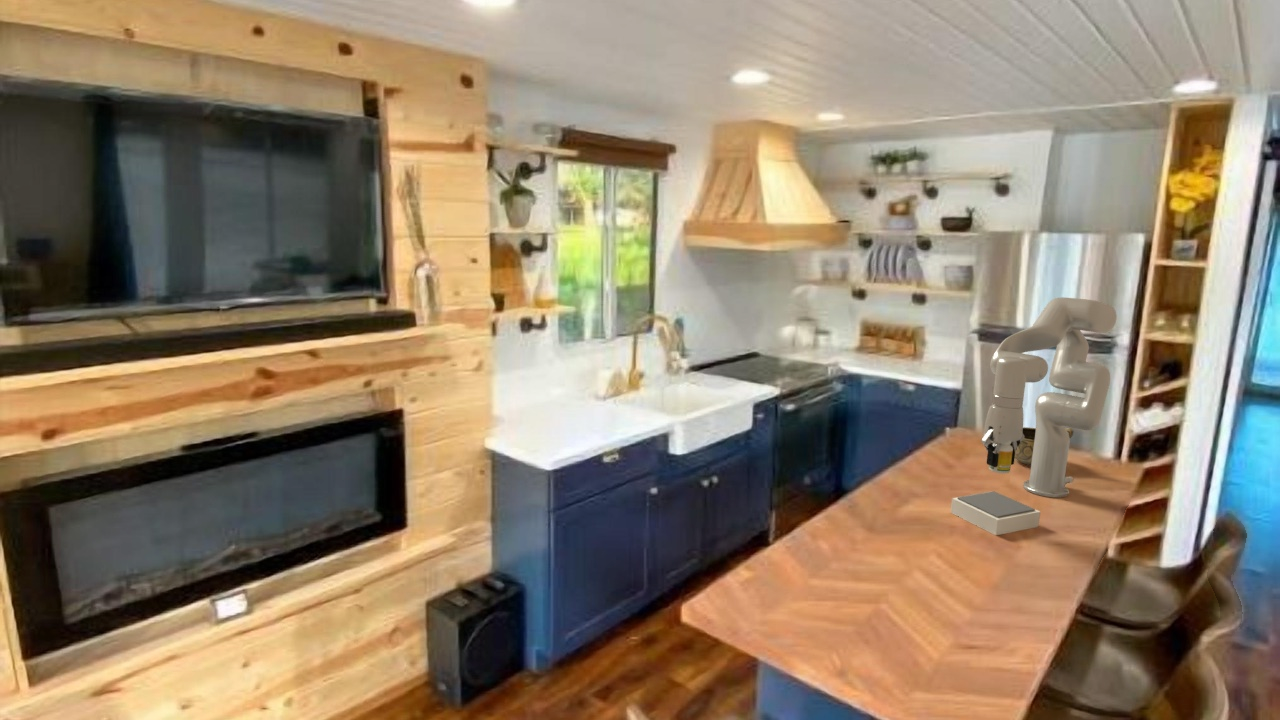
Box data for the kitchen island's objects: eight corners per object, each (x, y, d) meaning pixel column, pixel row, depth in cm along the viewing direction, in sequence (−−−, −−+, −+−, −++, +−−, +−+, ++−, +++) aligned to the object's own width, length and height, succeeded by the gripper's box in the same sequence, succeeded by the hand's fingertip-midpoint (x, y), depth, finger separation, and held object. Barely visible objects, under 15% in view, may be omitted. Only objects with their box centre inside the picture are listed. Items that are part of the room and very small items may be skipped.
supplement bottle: (985, 469, 201) (989, 437, 199) (994, 465, 204) (998, 433, 202) (1004, 475, 197) (1008, 442, 195) (1013, 471, 200) (1017, 438, 198)
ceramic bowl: (1075, 466, 248) (1081, 425, 245) (1057, 478, 237) (1063, 434, 234) (1008, 450, 265) (1013, 411, 262) (988, 460, 254) (993, 419, 251)
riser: (991, 505, 214) (993, 489, 213) (1038, 526, 199) (1040, 509, 198) (950, 512, 208) (952, 496, 207) (995, 535, 194) (997, 518, 193)
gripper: (1018, 396, 203) (1011, 456, 207) (973, 401, 197) (966, 463, 201) (1042, 402, 196) (1033, 465, 200) (995, 407, 190) (988, 472, 194)
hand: (1000, 463), depth 200 cm, fingers closed on supplement bottle, 5 cm apart
